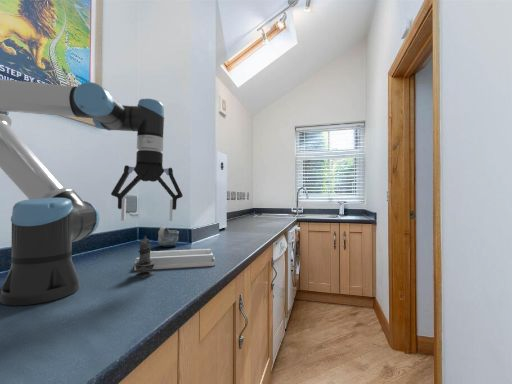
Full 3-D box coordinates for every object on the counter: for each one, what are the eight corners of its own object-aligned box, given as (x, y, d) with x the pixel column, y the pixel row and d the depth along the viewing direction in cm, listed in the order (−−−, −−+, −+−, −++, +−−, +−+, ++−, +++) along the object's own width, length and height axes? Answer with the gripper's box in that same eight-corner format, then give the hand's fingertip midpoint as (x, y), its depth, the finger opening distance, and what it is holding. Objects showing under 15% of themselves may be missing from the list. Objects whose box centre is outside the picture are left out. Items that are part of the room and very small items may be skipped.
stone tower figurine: (143, 271, 87) (144, 233, 87) (159, 273, 85) (159, 234, 85) (129, 276, 81) (130, 236, 81) (145, 278, 79) (145, 237, 79)
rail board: (134, 270, 88) (134, 259, 88) (140, 261, 99) (140, 251, 100) (215, 265, 94) (215, 255, 94) (211, 257, 106) (211, 248, 106)
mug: (180, 244, 134) (181, 224, 134) (175, 249, 122) (175, 227, 122) (160, 244, 134) (161, 224, 134) (152, 249, 121) (153, 227, 121)
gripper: (101, 146, 77) (98, 221, 77) (192, 152, 84) (189, 221, 83) (108, 150, 84) (105, 218, 84) (190, 155, 91) (188, 219, 91)
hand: (147, 220), depth 84 cm, fingers open, 13 cm apart
